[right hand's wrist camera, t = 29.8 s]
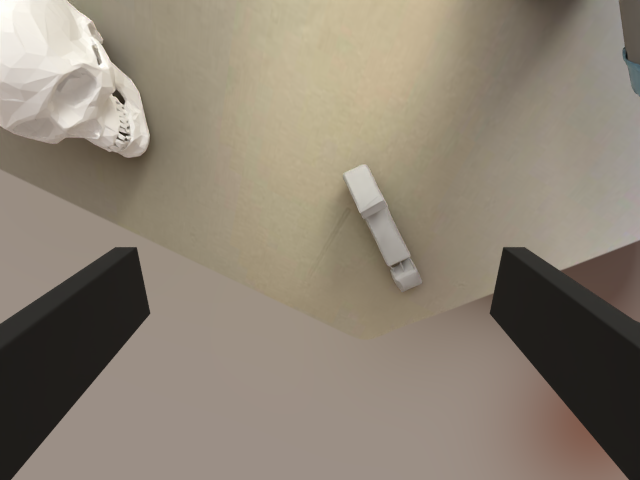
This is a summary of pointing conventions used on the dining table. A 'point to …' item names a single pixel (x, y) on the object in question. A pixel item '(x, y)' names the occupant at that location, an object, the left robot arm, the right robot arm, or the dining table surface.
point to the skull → (64, 80)
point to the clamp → (382, 226)
